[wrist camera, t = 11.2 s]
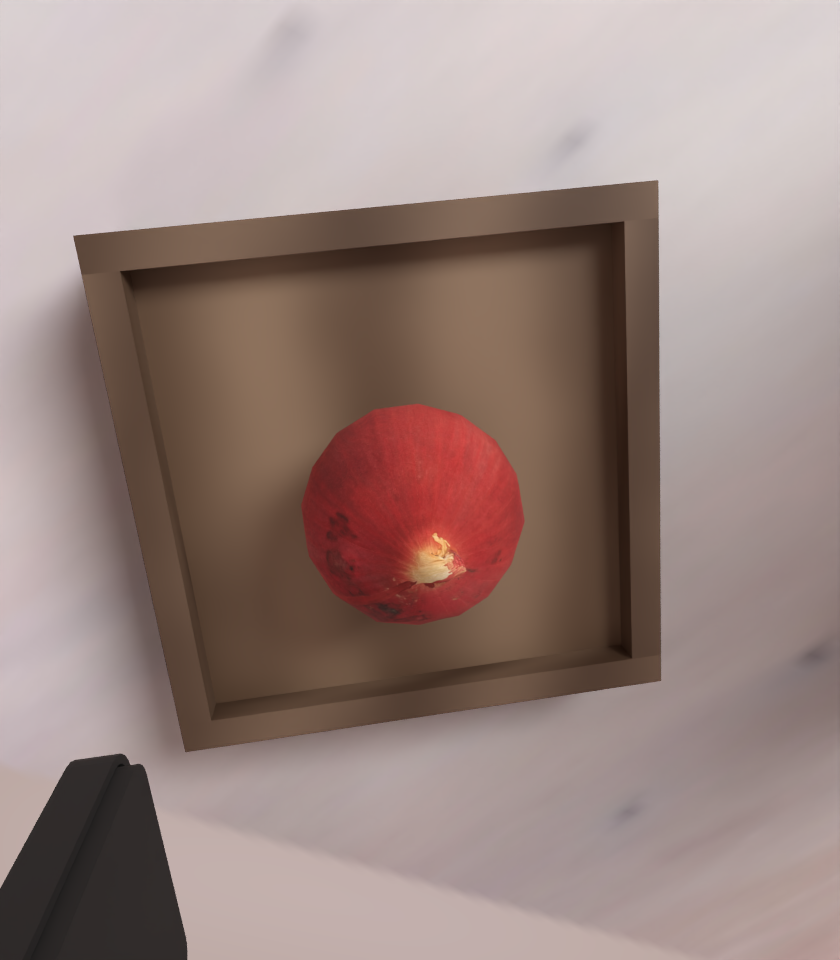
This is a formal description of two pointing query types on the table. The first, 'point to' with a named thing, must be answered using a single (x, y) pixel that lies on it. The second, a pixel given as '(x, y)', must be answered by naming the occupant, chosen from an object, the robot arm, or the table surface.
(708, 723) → the table surface
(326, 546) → the onion
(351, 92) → the table surface
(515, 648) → the walnut tray
